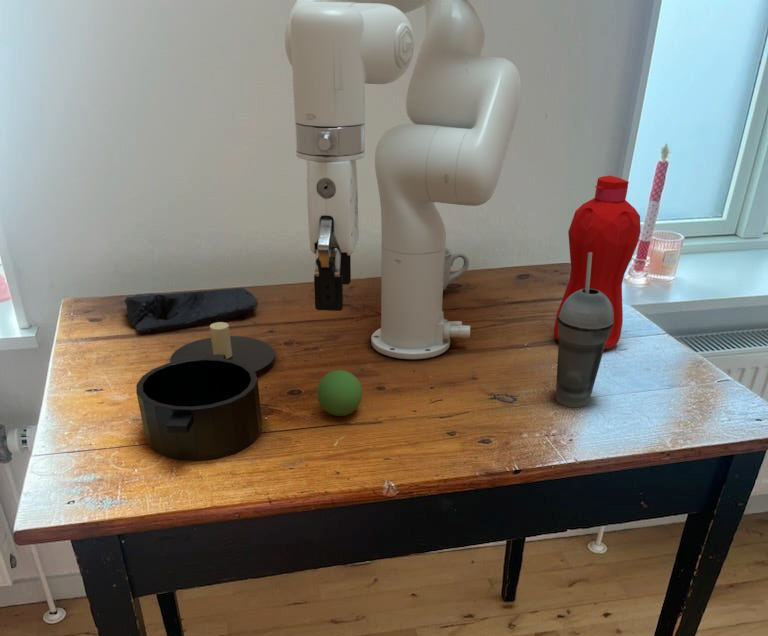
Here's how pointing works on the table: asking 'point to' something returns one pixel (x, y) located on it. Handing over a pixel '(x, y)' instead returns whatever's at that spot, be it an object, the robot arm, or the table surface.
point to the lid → (229, 349)
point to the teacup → (449, 262)
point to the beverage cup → (581, 342)
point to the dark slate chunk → (188, 308)
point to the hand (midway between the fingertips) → (333, 296)
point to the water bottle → (603, 246)
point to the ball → (339, 393)
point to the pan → (200, 408)
